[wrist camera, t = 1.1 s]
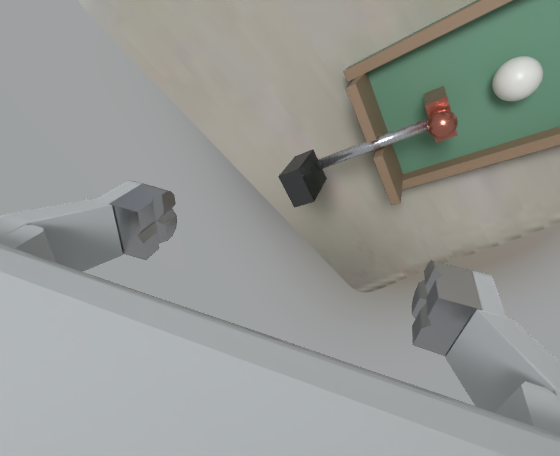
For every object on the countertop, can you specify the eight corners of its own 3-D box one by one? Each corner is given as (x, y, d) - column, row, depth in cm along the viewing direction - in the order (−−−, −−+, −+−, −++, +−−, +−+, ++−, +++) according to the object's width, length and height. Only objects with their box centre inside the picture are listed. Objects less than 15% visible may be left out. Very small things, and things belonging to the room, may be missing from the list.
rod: (446, 84, 35) (455, 109, 26) (456, 119, 36) (467, 154, 27) (306, 143, 43) (278, 176, 35) (318, 169, 45) (294, 207, 36)
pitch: (570, -49, 29) (626, -70, 21) (589, 120, 34) (639, 153, 27) (349, 66, 40) (331, 81, 32) (391, 180, 45) (386, 216, 37)
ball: (532, 45, 31) (545, 50, 28) (539, 86, 33) (551, 94, 30) (485, 66, 33) (492, 72, 30) (493, 103, 35) (500, 112, 32)
